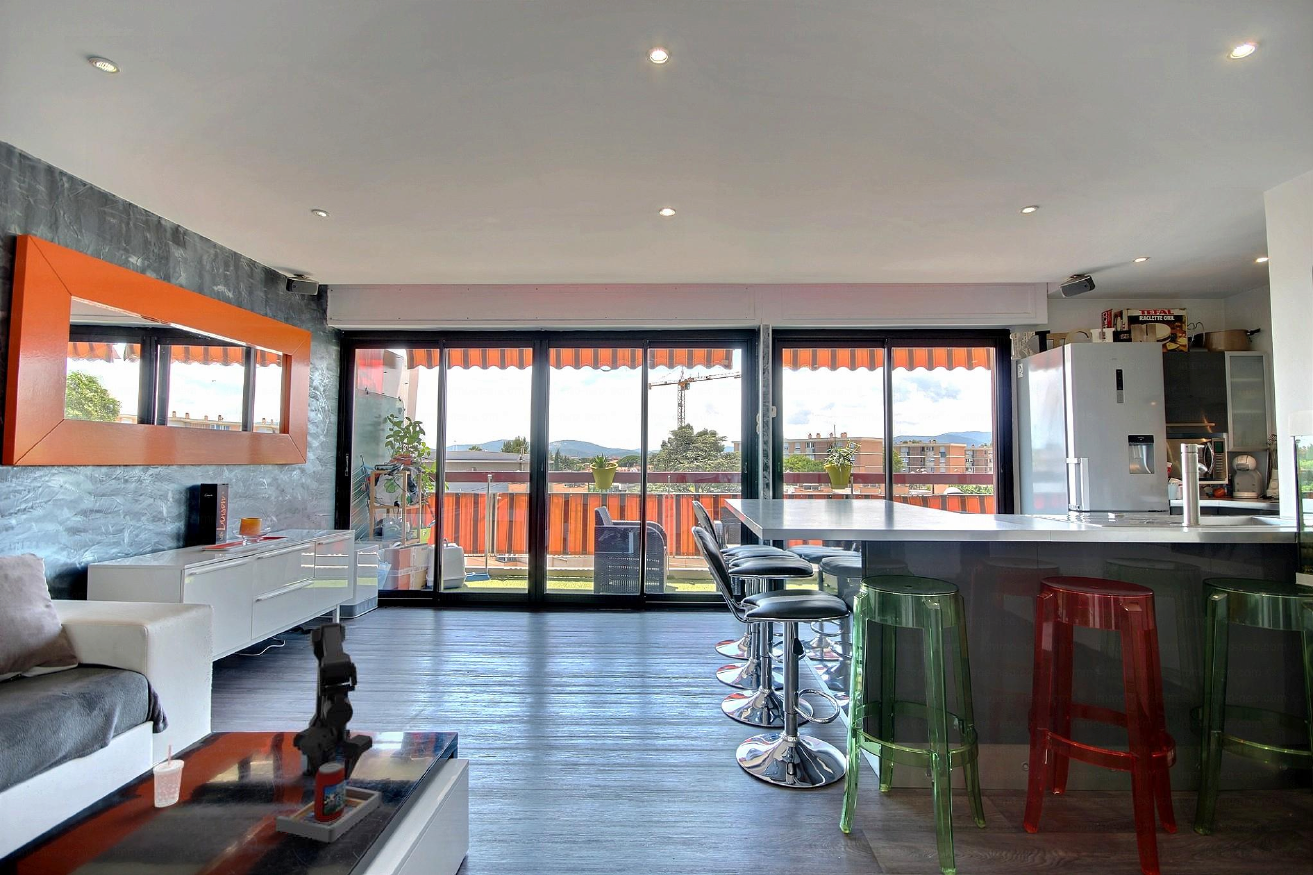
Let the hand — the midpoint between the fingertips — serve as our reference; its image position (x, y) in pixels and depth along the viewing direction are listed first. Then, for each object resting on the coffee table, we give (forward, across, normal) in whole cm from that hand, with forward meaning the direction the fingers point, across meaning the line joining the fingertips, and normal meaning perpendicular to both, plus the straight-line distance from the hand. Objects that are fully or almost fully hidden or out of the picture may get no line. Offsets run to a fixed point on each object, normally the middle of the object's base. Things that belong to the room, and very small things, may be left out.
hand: (331, 776), depth 150 cm
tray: (+10, -1, 0) cm, 10 cm away
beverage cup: (+10, -43, -6) cm, 45 cm away
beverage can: (+10, 0, 0) cm, 10 cm away
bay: (+10, 0, 0) cm, 10 cm away
